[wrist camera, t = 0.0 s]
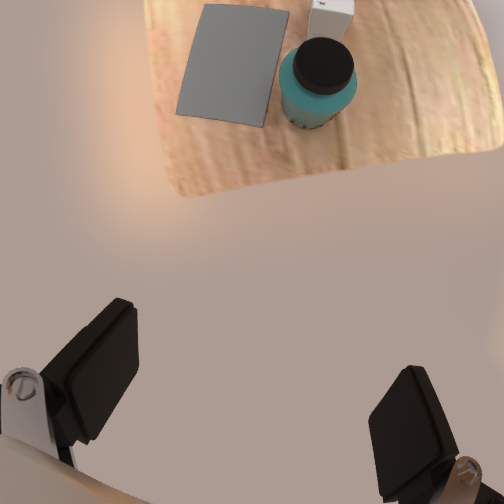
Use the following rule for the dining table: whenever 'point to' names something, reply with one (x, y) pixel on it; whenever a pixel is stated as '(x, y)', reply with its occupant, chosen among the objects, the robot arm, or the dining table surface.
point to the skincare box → (330, 18)
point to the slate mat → (232, 63)
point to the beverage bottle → (316, 81)
